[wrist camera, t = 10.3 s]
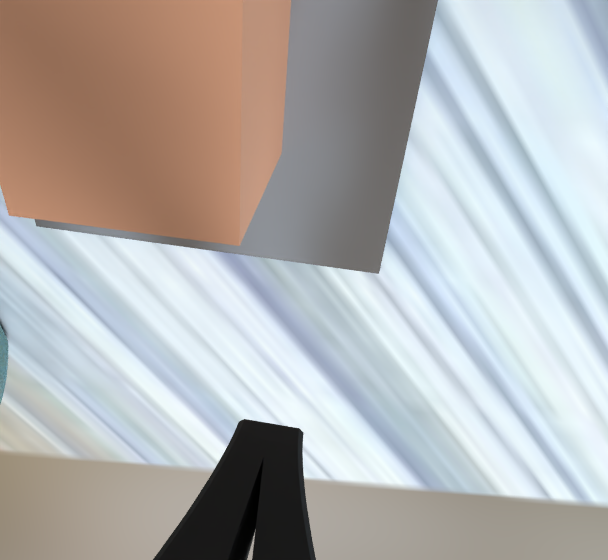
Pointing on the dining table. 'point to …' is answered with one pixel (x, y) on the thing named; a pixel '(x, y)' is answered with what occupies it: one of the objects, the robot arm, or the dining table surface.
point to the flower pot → (3, 361)
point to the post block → (334, 136)
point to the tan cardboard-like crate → (142, 112)
